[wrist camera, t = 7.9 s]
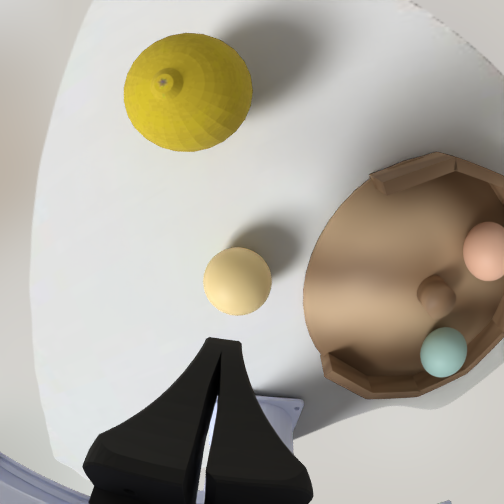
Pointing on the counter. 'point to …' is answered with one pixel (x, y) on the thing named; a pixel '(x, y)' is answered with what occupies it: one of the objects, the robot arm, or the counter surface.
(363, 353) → the groove tray
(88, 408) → the counter surface
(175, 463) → the robot arm
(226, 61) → the lemon
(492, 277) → the bead terracotta
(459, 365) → the bead teal
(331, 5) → the counter surface
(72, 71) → the counter surface
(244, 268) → the pale yellow ball
